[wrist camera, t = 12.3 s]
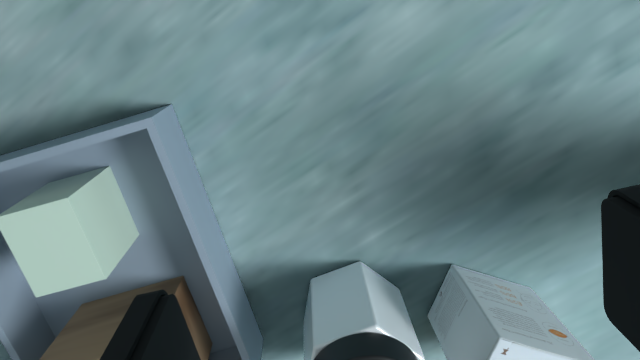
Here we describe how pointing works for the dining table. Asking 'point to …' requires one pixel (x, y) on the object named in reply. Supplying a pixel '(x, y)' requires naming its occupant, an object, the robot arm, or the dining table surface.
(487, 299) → the small box
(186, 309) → the walnut block
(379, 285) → the jar
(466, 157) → the dining table surface
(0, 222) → the pale green block
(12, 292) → the box
